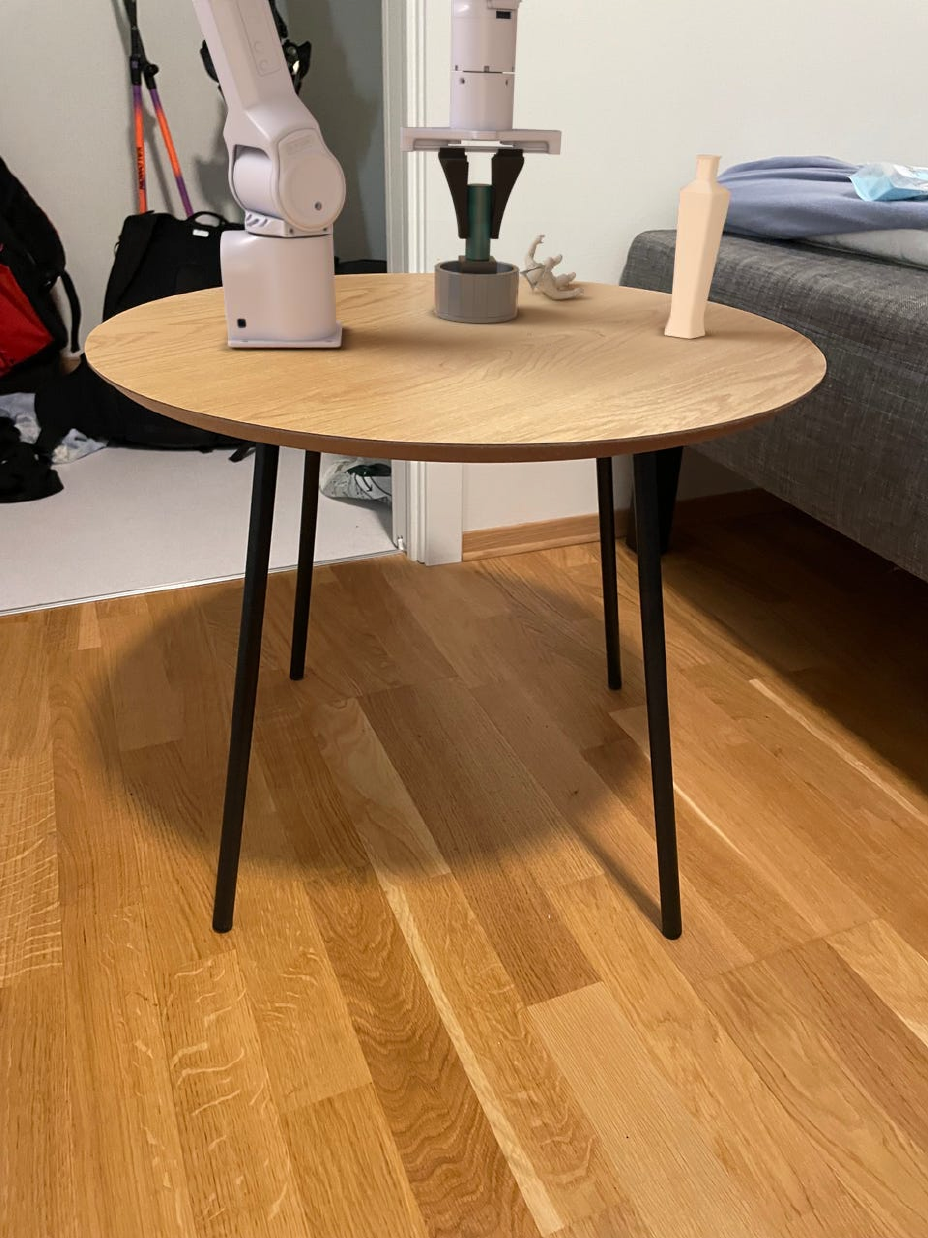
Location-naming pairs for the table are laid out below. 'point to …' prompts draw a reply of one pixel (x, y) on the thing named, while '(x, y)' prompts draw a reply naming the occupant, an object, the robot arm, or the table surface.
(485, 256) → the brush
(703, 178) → the peach faceted vase
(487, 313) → the low gray pot
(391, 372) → the table surface
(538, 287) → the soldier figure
